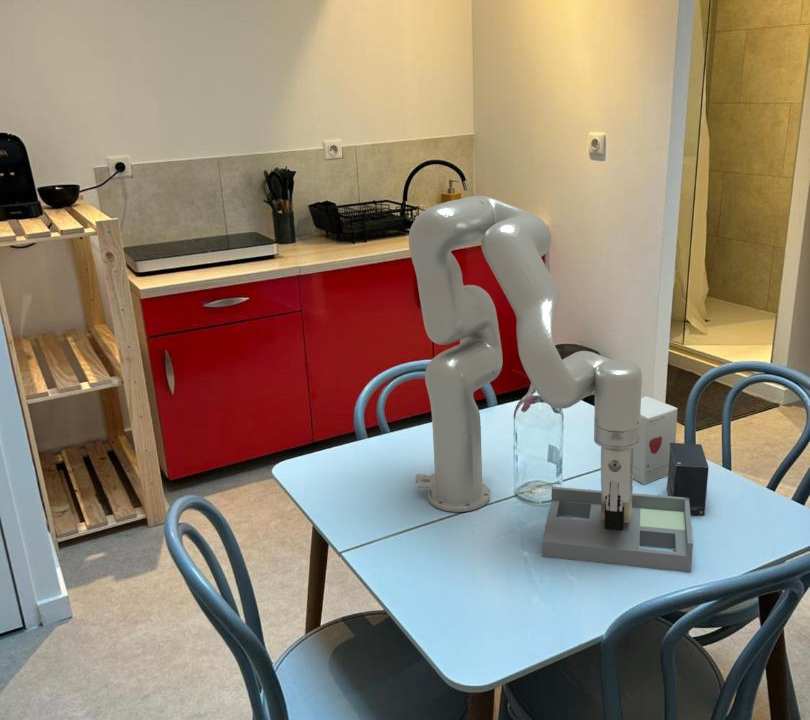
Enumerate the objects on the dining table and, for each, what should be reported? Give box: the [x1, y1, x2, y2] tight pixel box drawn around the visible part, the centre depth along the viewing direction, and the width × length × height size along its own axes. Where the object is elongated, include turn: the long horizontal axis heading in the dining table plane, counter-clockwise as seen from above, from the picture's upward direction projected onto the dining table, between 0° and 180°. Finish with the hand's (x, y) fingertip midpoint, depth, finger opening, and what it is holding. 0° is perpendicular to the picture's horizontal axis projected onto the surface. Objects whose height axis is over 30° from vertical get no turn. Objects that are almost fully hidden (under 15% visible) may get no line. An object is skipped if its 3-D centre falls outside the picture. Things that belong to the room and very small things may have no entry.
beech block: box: [600, 484, 634, 523], centre depth 149 cm, size 5×5×6 cm
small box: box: [666, 442, 709, 516], centre depth 159 cm, size 11×6×10 cm, turn 168°
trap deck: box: [541, 486, 694, 573], centre depth 148 cm, size 25×16×6 cm, turn 74°
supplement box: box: [632, 395, 678, 485], centre depth 171 cm, size 9×9×15 cm
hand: (614, 527), depth 145 cm, fingers closed
